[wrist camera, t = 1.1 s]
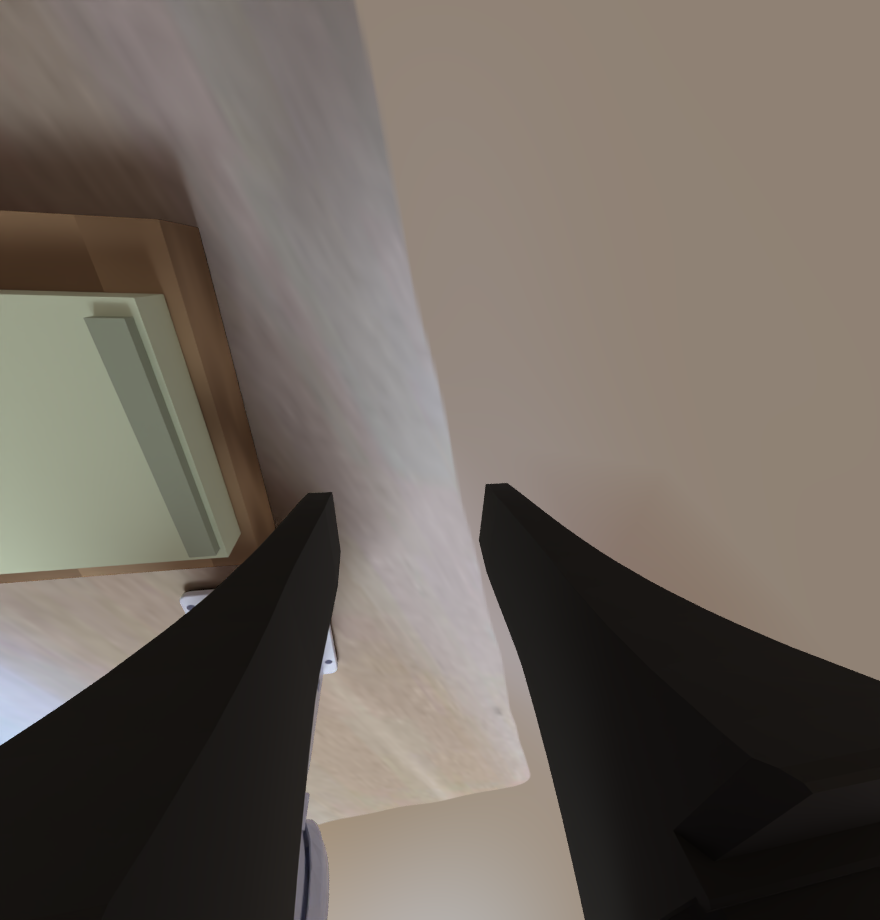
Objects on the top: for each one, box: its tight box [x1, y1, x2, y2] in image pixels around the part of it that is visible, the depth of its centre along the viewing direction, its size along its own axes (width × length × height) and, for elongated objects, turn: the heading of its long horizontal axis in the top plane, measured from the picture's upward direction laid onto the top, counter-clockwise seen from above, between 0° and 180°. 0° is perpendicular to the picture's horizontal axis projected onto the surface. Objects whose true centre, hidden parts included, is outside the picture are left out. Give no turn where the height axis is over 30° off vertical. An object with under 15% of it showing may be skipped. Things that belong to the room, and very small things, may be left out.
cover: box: [0, 290, 241, 574], centre depth 12 cm, size 10×9×2 cm
